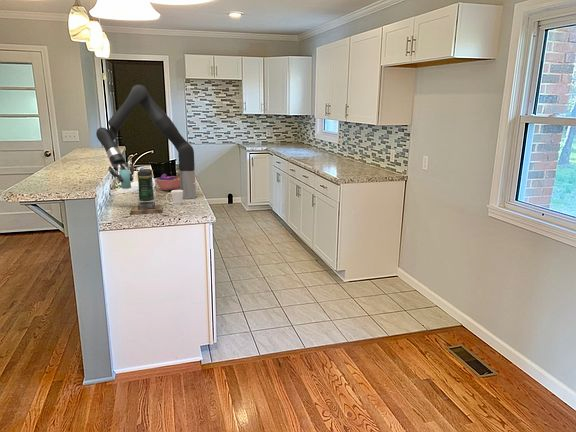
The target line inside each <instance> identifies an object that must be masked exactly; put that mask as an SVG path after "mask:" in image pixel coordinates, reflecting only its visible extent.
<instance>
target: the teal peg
mask: <svg viewBox="0 0 576 432" xmlns="http://www.w3.org/2000/svg"><path fill="white" fill-rule="evenodd" d="M120 175H121V177H122V179H123V182H122V183H121V182H120V184H121V189H124V190H126V189H127V190H128V189H132V185H131V182H132V181H130V169H129V170H127V169H125V170H120Z"/></svg>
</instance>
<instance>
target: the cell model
mask: <svg viewBox="0 0 576 432" xmlns="http://www.w3.org/2000/svg"><path fill="white" fill-rule="evenodd" d="M154 180H155V182H156V184H157V186H158V187H159V189H161V190H164V191H166V192H167V191H172V190H180V176H179V175H178V176H176V175H171V176H168V175H167V174H166V173H163V174H162V175H161V176H160V177H156V178H155V179H154Z"/></svg>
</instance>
